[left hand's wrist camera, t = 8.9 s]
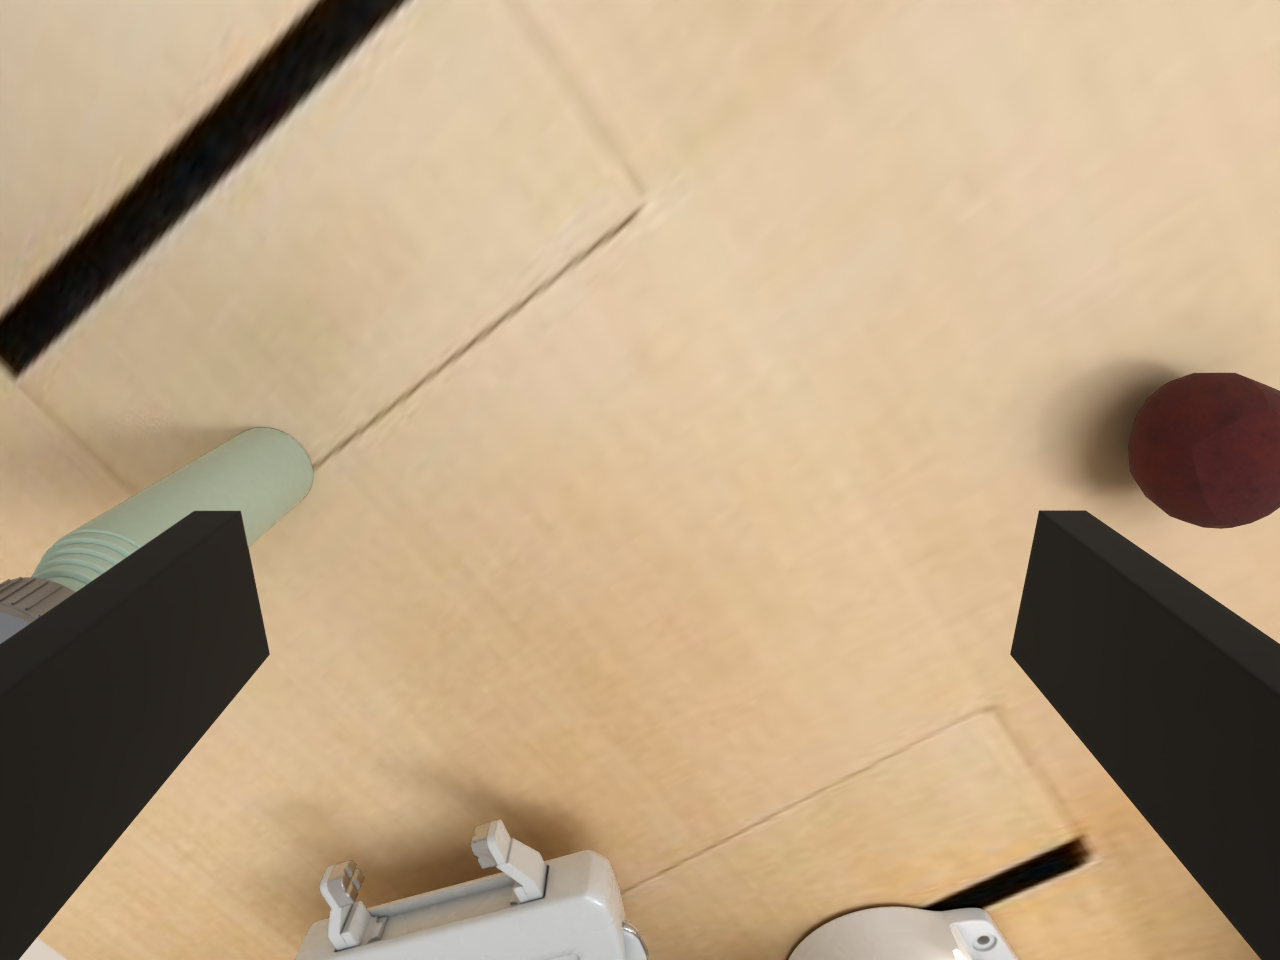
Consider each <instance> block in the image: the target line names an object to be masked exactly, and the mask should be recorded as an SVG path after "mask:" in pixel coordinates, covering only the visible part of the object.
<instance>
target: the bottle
mask: <svg viewBox="0 0 1280 960" xmlns="http://www.w3.org/2000/svg"><path fill="white" fill-rule="evenodd" d="M312 481H313V469H312V464H311V461H310V459H309V456H308V455H307V453H306V451H305V450H304V448H303V447H302V446H301V445H300V444H299V443H298V442H297V441H296V440H295V439H293V438H292V437H291V436H289V435H287V434H285V433H283V432H281V431H278V430H275V429H271V428H253V429H250V430H247V431H244V432H242V433H241V434H239V435H237V436H236V437H234V438H232V439H230V440H229V441H227V442H225V443H224V444H222V445H220V446H218V447H217V448H215V449H213V450H211V451H210V452H208V453H206V454H205V455H203V456H201V457H199V458H198V459H196V460H194V461H193V462H191V463H189V464H187V465H186V466H184V467H182V468H181V469H179V470H177V471H175V472H174V473H172V474H170V475H168V476H167V477H165V478H163V479H162V480H160V481H158V482H156V483H155V484H153V485H151V486H150V487H148V488H146V489H144V490H143V491H141V492H139V493H137V494H136V495H134V496H132V497H131V498H129V499H127V500H125V501H124V502H122V503H120V504H119V505H117V506H115V507H113V508H112V509H110V510H108V511H106V512H105V513H103V514H101V515H100V516H98V517H96V518H94V519H93V520H91V521H89V522H88V523H86V524H84V525H82V526H81V527H79V528H77V529H76V530H74V531H72V532H70V533H69V534H67V535H65V536H64V537H62V538H60V539H59V540H58V541H57V542H56V543H55V544H54V545H53V546H52V547H51V548H50V549H49V550H47V552H46V553H45V554H44V555H43V557H42V559H41V560H40V562H39V564H38V566H37V568H36V570H35V572H34V573H33V575H32V577H31V578H33V577H34V578H41V579H46V580H50V581H53V582H56V583H59V584H61V585H64V586H66V587H68V588H69V589H71V590H73V591H74V592H77V591H78V590H80V589H81V588H83V587H84V586H85V585H87V584H88V583H90V582H91V581H93V580H94V579H96V578H97V577H99V576H100V575H101V574H103V573H104V572H106V571H107V570H109V569H110V568H112V567H113V566H115V565H116V564H117V563H119V562H120V561H122V560H123V559H125V558H126V557H128V556H129V555H131V554H132V553H133V552H135V551H136V550H138V549H139V548H141V547H142V546H144V545H145V544H147V543H148V542H149V541H151V540H152V539H154V538H155V537H157V536H158V535H160V534H161V533H163V532H164V531H165V530H167V529H168V528H170V527H171V526H173V525H174V524H176V523H177V522H179V521H180V520H181V519H183V518H184V517H186V516H187V515H189V514H190V513H192V512H193V511H241V514H242V519H243V524H244V529H245V534H246V539H247V544H248V547H249V546H250V545H251V544H253V543H254V542H255V541H256V540H257V539H258V538H259V537H261V536H262V535H263V534H264V533H265V532H266V531H267V530H268V529H270V528H271V527H272V526H273V525H274V524H275V523H276V522H278V521H279V520H280V519H281V518H282V517H283V516H284V515H285V514H287V513H288V512H289V511H290V510H291V509H292V508H293V507H295V506H296V505H297V504H298V503H299V502H300V501H301V500H302V499H303V498H304V497H305V496H306V495H307V494H308V492H309V490H310V488H311V485H312Z"/></svg>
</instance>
